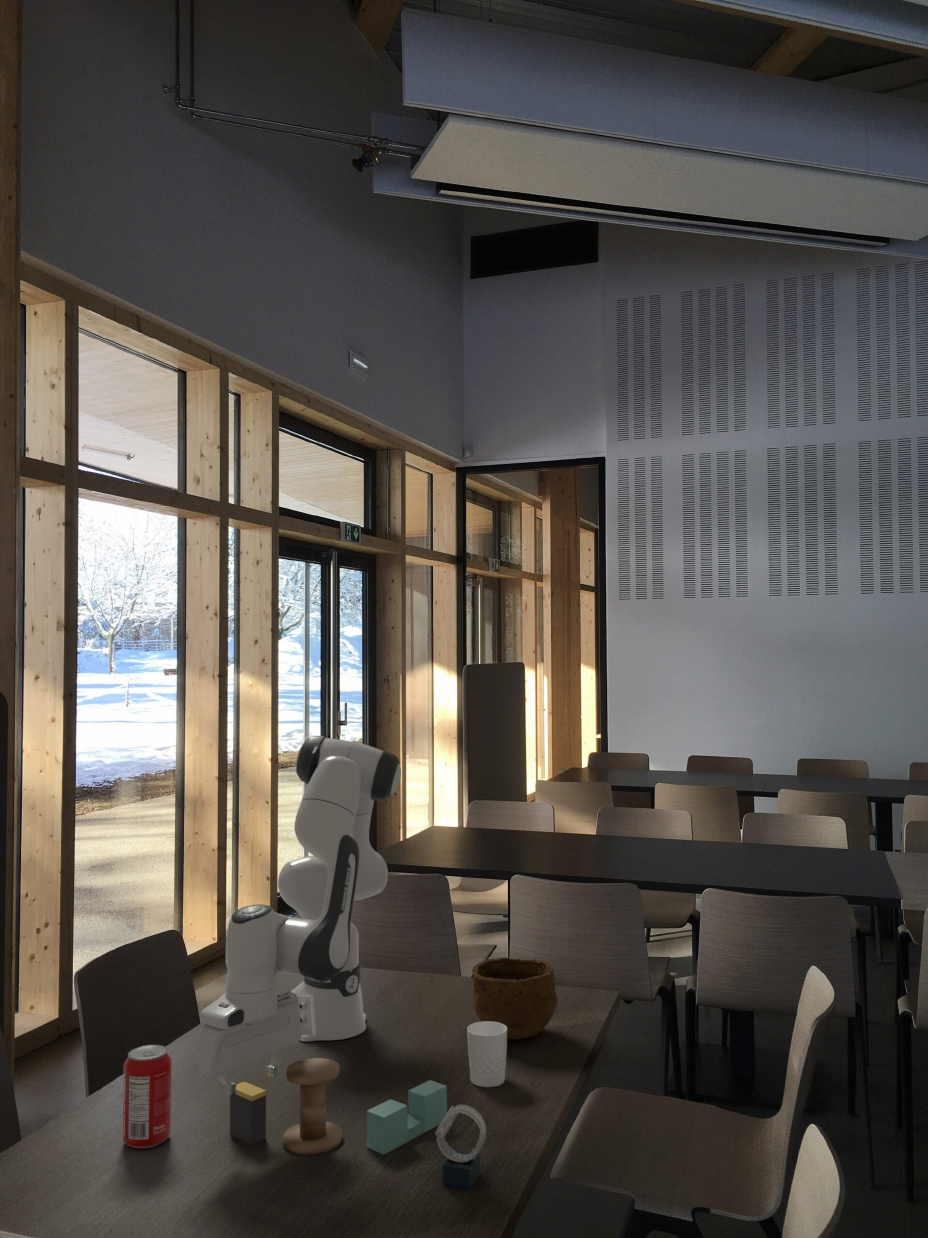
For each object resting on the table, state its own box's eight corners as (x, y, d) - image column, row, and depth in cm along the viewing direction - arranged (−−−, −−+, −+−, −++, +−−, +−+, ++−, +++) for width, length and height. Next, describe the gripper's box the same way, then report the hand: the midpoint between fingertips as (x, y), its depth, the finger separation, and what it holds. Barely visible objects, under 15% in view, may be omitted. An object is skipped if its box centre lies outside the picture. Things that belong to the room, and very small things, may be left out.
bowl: (458, 1028, 218) (457, 961, 219) (532, 1016, 225) (531, 951, 226) (493, 1058, 201) (492, 985, 202) (572, 1044, 208) (571, 973, 209)
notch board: (366, 1147, 163) (366, 1111, 163) (430, 1114, 175) (429, 1080, 176) (383, 1155, 161) (383, 1117, 161) (446, 1120, 173) (446, 1086, 173)
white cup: (504, 1090, 185) (503, 1037, 186) (463, 1087, 187) (463, 1034, 187) (510, 1074, 193) (510, 1022, 194) (471, 1071, 194) (471, 1020, 195)
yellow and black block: (229, 1134, 168) (230, 1087, 169) (243, 1128, 171) (244, 1081, 171) (251, 1145, 164) (251, 1096, 165) (265, 1138, 167) (265, 1090, 167)
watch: (442, 1167, 156) (442, 1097, 157) (490, 1175, 154) (490, 1103, 155) (430, 1184, 151) (430, 1112, 152) (480, 1192, 149) (479, 1119, 149)
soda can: (126, 1156, 161) (127, 1064, 162) (119, 1137, 168) (120, 1048, 169) (174, 1146, 164) (175, 1055, 165) (166, 1127, 171) (167, 1040, 172)
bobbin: (270, 1142, 165) (271, 1070, 166) (315, 1121, 173) (315, 1052, 174) (310, 1161, 159) (310, 1085, 159) (354, 1138, 166) (354, 1066, 167)
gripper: (285, 985, 179) (285, 1063, 178) (191, 1015, 163) (191, 1100, 162) (308, 991, 175) (309, 1071, 174) (214, 1022, 159) (214, 1110, 158)
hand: (251, 1085), depth 168 cm, fingers open, 8 cm apart
